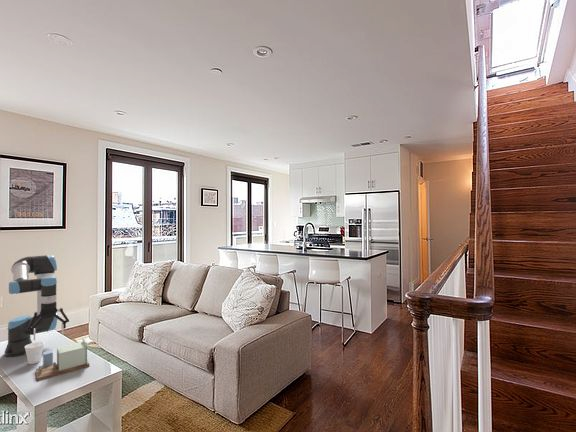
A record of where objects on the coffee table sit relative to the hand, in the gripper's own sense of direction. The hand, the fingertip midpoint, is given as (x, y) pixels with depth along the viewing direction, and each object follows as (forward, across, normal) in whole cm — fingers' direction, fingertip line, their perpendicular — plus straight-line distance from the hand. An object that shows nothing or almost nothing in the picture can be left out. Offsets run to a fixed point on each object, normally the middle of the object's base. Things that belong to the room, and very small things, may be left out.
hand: (48, 336), depth 188 cm
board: (+19, +6, -7) cm, 21 cm away
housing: (+17, +11, -7) cm, 22 cm away
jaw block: (+19, 0, +5) cm, 20 cm away
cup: (+19, -6, +16) cm, 26 cm away
